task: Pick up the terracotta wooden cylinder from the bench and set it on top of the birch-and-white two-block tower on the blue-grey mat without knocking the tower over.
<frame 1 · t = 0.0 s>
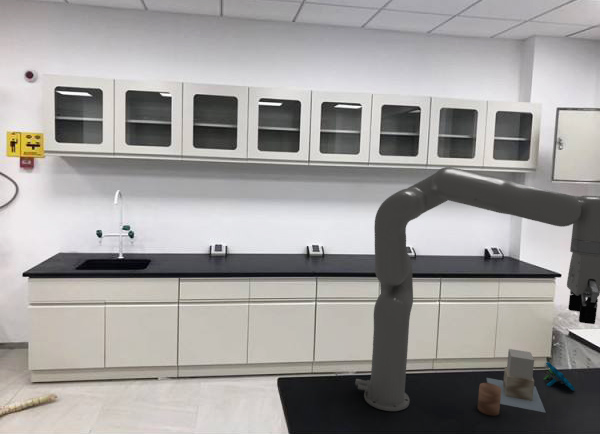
hand: (580, 316, 108), 31 cm above the countertop, tool pointing down, fingers open, 9 cm apart
upper block: (519, 373, 132), point 6 cm above the countertop, touching lower block
lower block: (517, 392, 132), resting on mat, touching upper block
mat: (513, 395, 132), on the countertop
blue angular piece: (557, 387, 139), on the countertop
cylinder: (488, 411, 122), on the countertop
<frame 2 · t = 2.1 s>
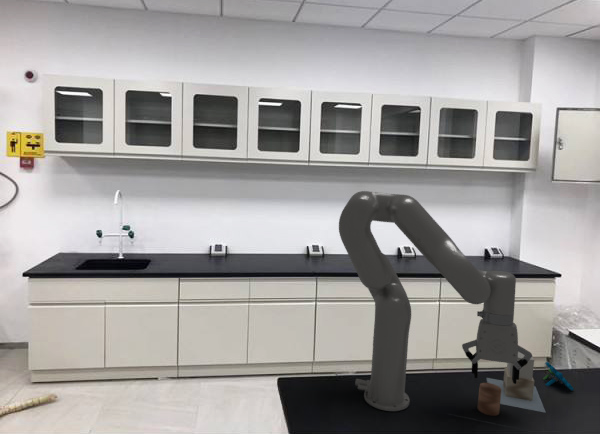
hand: (494, 378, 121), 10 cm above the countertop, tool pointing down, fingers open, 9 cm apart
nothing on the countertop moved.
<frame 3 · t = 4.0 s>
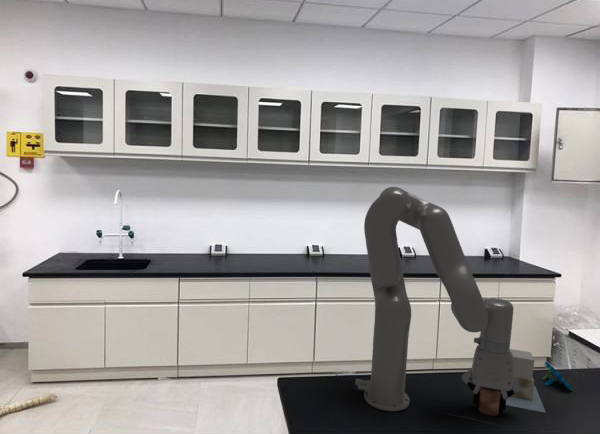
hand: (488, 407, 122), 1 cm above the countertop, tool pointing down, fingers closed on cylinder, 5 cm apart
cylinder: (488, 411, 122), on the countertop, touching gripper
everything else where it was.
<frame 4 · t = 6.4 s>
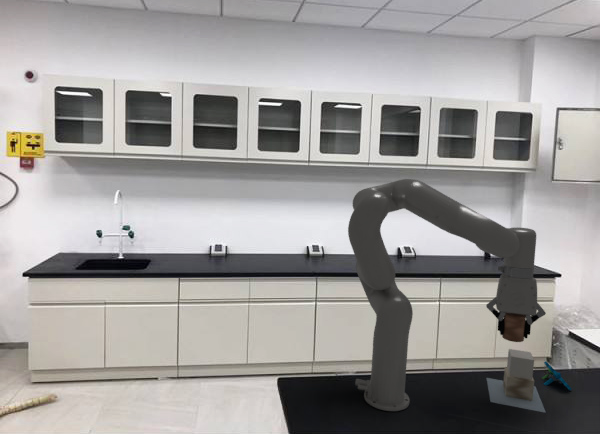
hand: (513, 334, 125), 20 cm above the countertop, tool pointing down, fingers closed on cylinder, 5 cm apart
cylinder: (512, 338, 126), point 19 cm above the countertop, touching gripper
everything else where it was.
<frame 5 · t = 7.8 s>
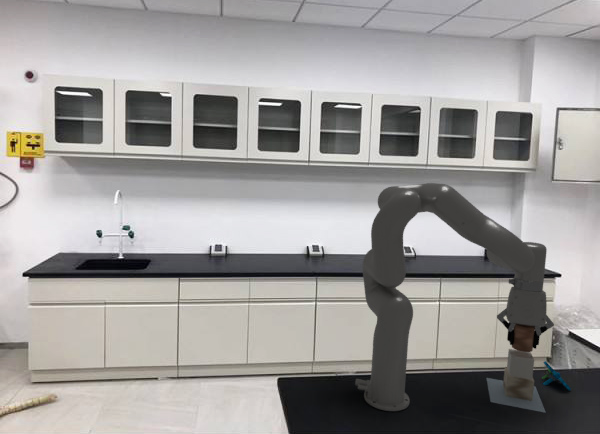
hand: (522, 344, 131), 15 cm above the countertop, tool pointing down, fingers closed on cylinder, 5 cm apart
cylinder: (522, 348, 131), point 14 cm above the countertop, touching gripper
everything else where it was.
when the fingers open (15 cm above the countertop, at t = 9.1 s): cylinder drops 1 cm, resting on upper block.
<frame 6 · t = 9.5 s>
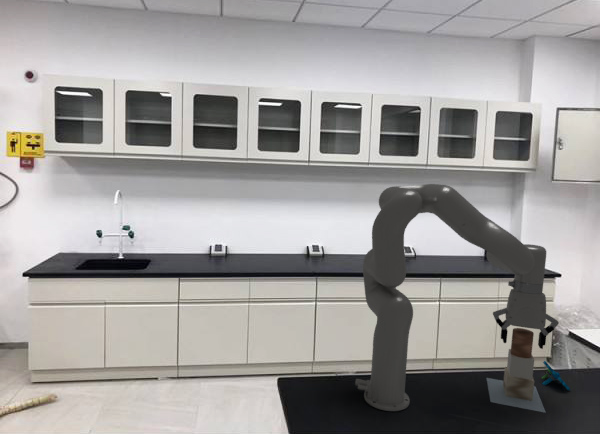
hand: (522, 344, 131), 16 cm above the countertop, tool pointing down, fingers open, 9 cm apart
upper block: (519, 373, 132), point 6 cm above the countertop, touching cylinder, lower block
cylinder: (520, 354, 131), point 12 cm above the countertop, touching upper block
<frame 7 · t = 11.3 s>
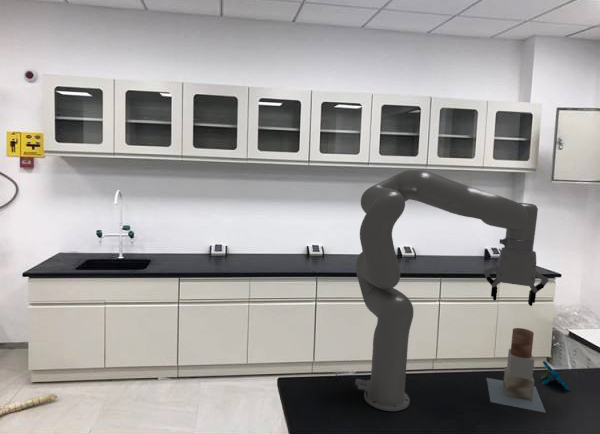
hand: (512, 302, 131), 28 cm above the countertop, tool pointing down, fingers open, 9 cm apart
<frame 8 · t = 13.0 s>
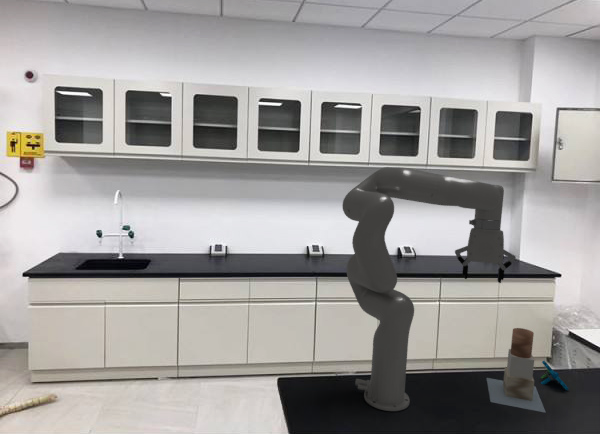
hand: (482, 279, 137), 32 cm above the countertop, tool pointing down, fingers open, 9 cm apart
at the end: cylinder 0.1 cm off-centre on the upper block, point 6.0 cm above the upper block's base; upper block 0.0 cm off-centre on the lower block, point 6.0 cm above the lower block's base; cylinder tilted 0° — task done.
